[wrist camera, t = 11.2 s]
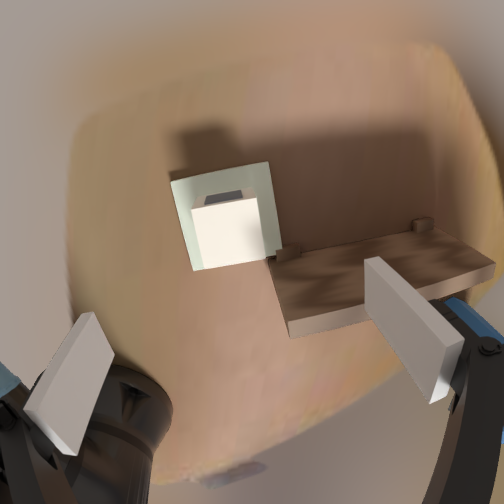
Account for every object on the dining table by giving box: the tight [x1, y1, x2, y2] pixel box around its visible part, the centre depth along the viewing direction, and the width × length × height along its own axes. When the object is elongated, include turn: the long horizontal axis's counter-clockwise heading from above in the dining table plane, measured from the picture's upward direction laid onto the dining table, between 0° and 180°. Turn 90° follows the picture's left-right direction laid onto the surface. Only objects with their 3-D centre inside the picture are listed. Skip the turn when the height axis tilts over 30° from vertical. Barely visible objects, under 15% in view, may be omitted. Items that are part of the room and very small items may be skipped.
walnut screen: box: [268, 217, 496, 339], centre depth 26 cm, size 20×4×11 cm, turn 100°
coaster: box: [171, 161, 282, 271], centre depth 29 cm, size 9×9×1 cm
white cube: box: [191, 187, 266, 269], centre depth 26 cm, size 5×5×5 cm
